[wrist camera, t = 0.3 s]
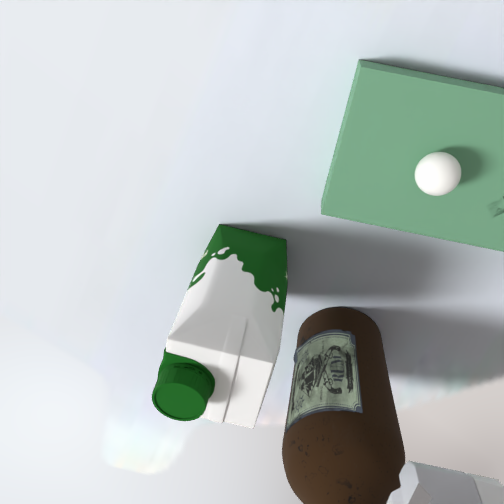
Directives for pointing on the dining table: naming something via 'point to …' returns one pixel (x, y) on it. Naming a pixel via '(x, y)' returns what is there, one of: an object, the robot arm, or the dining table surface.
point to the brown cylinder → (341, 413)
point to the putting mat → (419, 155)
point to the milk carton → (226, 331)
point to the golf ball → (438, 173)
